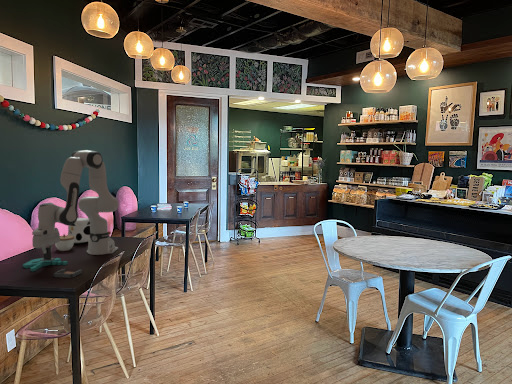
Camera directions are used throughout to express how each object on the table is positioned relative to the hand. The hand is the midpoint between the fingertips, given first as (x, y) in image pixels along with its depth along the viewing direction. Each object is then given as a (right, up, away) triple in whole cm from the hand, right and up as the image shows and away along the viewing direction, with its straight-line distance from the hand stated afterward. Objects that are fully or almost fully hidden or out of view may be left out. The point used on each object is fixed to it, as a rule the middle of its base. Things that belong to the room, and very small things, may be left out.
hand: (47, 252), depth 228 cm
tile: (+21, -10, -17) cm, 29 cm away
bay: (+22, -10, -18) cm, 30 cm away
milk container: (-9, -3, +62) cm, 63 cm away
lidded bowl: (-9, -5, +39) cm, 41 cm away
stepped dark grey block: (0, -5, 0) cm, 5 cm away
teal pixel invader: (-3, -8, +1) cm, 9 cm away
